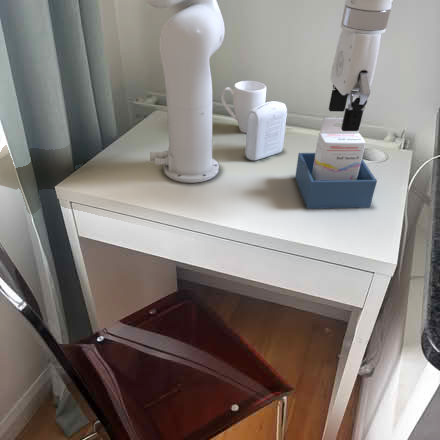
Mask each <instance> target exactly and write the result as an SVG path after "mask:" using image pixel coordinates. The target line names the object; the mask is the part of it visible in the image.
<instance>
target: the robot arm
mask: <svg viewBox="0 0 440 440" xmlns="http://www.w3.org/2000/svg"><path fill="white" fill-rule="evenodd" d="M145 1H146V3H148V5H150V6H151V7H153V8H156V9H161V10H162V9H168V8H170V10H171V13H172V16H171V17H170V18H169V19H168V20H167V21H166V22H165V24H164V25H163V27H162V29H161V32H160V34H159V41H158V42H159V45H158V47H159V55H160V56H159V57H160V60H161V65H162V69H163V76H164V77H163V78H164V85H165V86H164V87H165V98H166V113H167V129H168V148H167V149H168V150H164V151H163V152H158V151H150V152H149V159H150V162H154V164H155V165H156V166H159V165H160V166H161V165H163V172H164V174H165V176H166V177H168V178H170V179H171V180H174V181H176V182H181V183H190V184H192V183H193V184H195V183H202V182H206V181H209V180H211V179H213V178H215V177H216V176H217V175H218V174H219V171H220V167H219V166H220V165H219V163H218V161H217V160H215V158H213V81H212V74H211V73H212V71H211V66H210V59H211V57H212V56H213V55H214V54H215V53H216V52H217V51H218V50H219V48H220V47H221V46H222V44H223V42H224V39H225V32H226V30H225V29H226V27H225V22H224V17H223V14H222V12H221V8H220V6H219V4H218V1H217V0H145ZM393 2H394V0H345V2H344V7H343V13H342V19H341V24H340V28H341V32H340V34H339V39H338V42H337V46H336V50H335V54H334V59H333V63H332V67H331V71H330V81H331V83H332V89H331V94H330V99H329V105H328V111H329V112H342V113H343V112H344V114H343V117H342V118H343V122H341V123H342V124H341V126H340V127H341V129H342V131H358V130H359V131H360V129H359V127H360V128H361V125H360V123H361V124H362V121H361V119H362V118H363V114H364V111H365V109H366V105H367V104H368V99H369V97H370V95H371V87H372V83H373V78H374V75H375V71H376V66H377V61H378V56H379V51H380V44H381V36H382V34H385V33H386V32H387V31H386V30H387V27H388V23H389V22H388V21H389V18H390V14H391V10H392V6H393ZM354 97H356V98H355V99H354ZM346 106H347V107H346Z"/></svg>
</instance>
